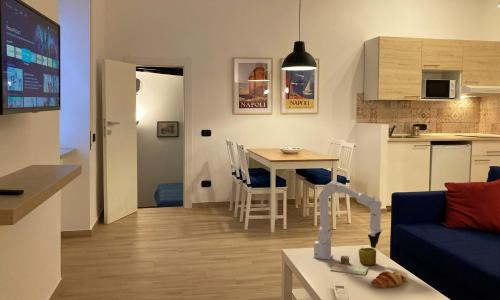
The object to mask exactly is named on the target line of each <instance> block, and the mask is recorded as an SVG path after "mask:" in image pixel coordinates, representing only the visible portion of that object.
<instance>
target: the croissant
mask: <svg viewBox="0 0 500 300" xmlns="http://www.w3.org/2000/svg"><path fill="white" fill-rule="evenodd" d="M407 279H408V276H406V275H404V274H400V273H397V272H396V271H394V272H391V271H388V270H386V271H385V270H384V271H382V272H379V274H378V275H377V276H376V277H375V278H373V280H371V281H370V283H371V285H373V286H374V287H378V288H382V289H383V288H387V289H388V288H395V287H398V286H400V285H402V284H404V283H405V282H406V281H407Z"/></svg>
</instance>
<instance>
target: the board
mask: <svg viewBox="0 0 500 300" xmlns="http://www.w3.org/2000/svg"><path fill="white" fill-rule="evenodd" d="M368 270H369V266H368V267H367V266H359V265H351V264H348V265H346V264H340V263H337V262H334V263H333V265H332V267H331V268H330V272H337V273H345V274H351V275H359V276H366V275H367V272H368Z"/></svg>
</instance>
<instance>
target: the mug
mask: <svg viewBox="0 0 500 300" xmlns="http://www.w3.org/2000/svg"><path fill="white" fill-rule="evenodd" d="M358 258H359V263H360V264H361V265H362V266H373V265H376V263H377V249H376V248H371V247H364V246H362V247H361V248H359V249H358Z"/></svg>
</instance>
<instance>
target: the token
mask: <svg viewBox="0 0 500 300" xmlns="http://www.w3.org/2000/svg"><path fill="white" fill-rule="evenodd" d="M339 264H346V265H350V256H348V255H341V256H340V263H339Z"/></svg>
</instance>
